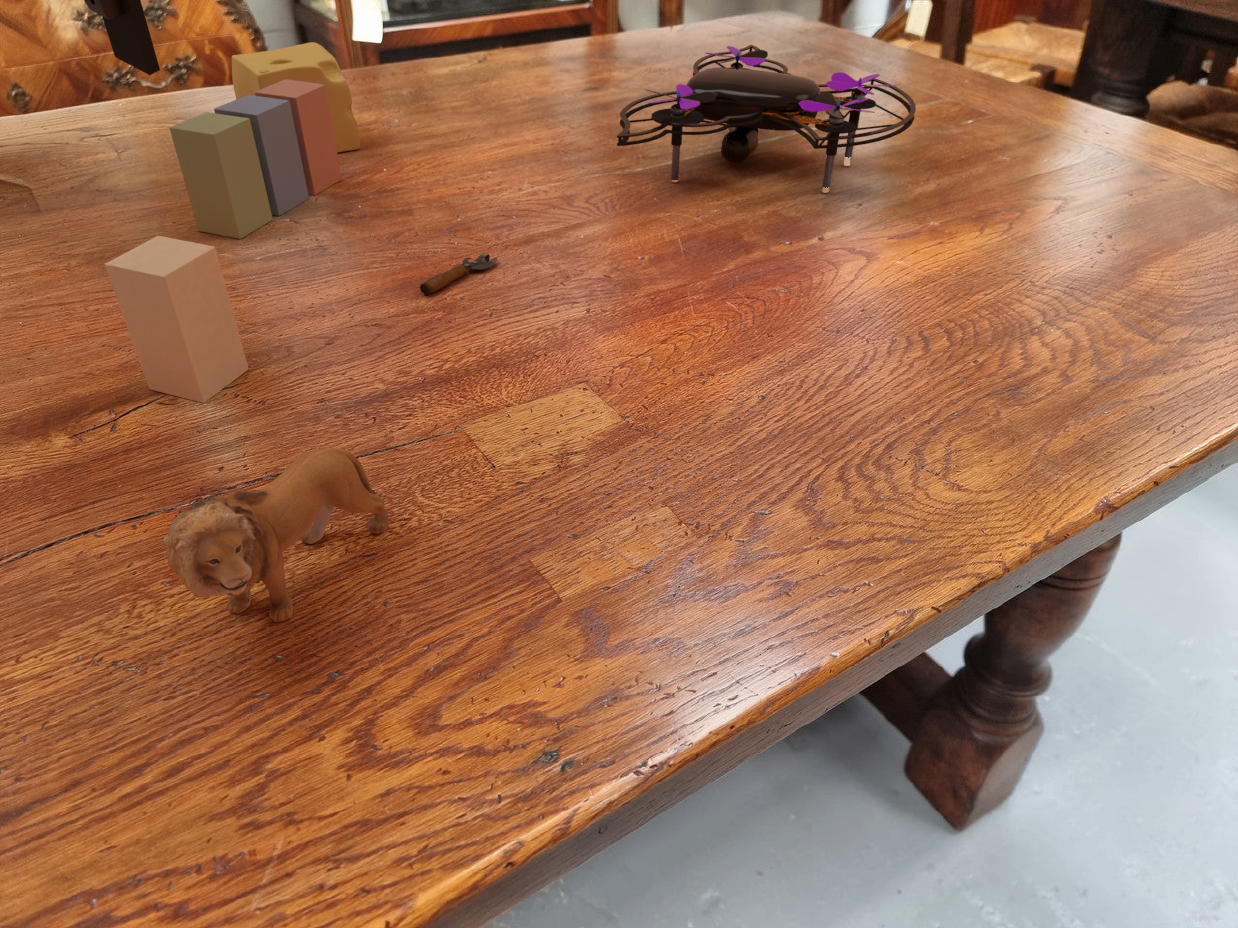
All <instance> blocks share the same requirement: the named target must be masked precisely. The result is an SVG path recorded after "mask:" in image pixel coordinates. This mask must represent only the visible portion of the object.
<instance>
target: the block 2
mask: <svg viewBox="0 0 1238 928" xmlns="http://www.w3.org/2000/svg"><path fill="white" fill-rule="evenodd" d="M104 267H105V271H106V272H107V276H108V278H109V282H110V285H111V287H112V289H113V292H114V296H115V298H116V301H117V303H118V307H119V310H120V312H121V315H122V317H123V320H124V323H125V325H126V328H127V331H128V335H129V337H130V340H131V343H132V345H133V348H134V351H135V354H136V357H137V359H138V362H139V366H140V367H141V370H142V373H143V376H144V379H145V382H146V385H147V387H148V389H149V390H150V391H154V392H159V393H162V394H166V395H170V396H174V397H178V398H182V399H186V400H190V401H194V402H198V403H201V404H205V403H206V402H208V401H209V400H210V399H212V398H213V397H214V396H215V395H217V394H218V393H219V392H220V391H222V390H223V389H225V388H226V387H227V386H229V385H230V384H231V383H233V382H235V380H236V379H238V378H240V377H241V376H242V375H243V374H244V373H246V372H247V371H249V364H248V361H247V357H246V355H245V351H244V346H243V343H242V340H241V336H240V332H239V328H238V324H237V322H236V317H235V313H234V310H233V306H232V303H231V300H230V295H229V293H228V292H229V291H228V289H227V284H226V282H225V277H224V274H223V270H222V266H221V263H220V259H219V256H218V251H217V249H216V246H213V245H209V244H203V243H198V242H193V241H188V240H182V239H178V238H172V237H167V236H162V235H156V236H155V237H153V238H151V239H149V240H147V241H145V242H143V243H141V244H139V245H138V246H136V247H134V248H132V249H130V250H128V251H126V252H124V253H122V254H121V255H119V256H117V257H115V258H113V259H111V260H109V261H107V262H105V263H104Z"/></svg>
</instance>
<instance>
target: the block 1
mask: <svg viewBox="0 0 1238 928" xmlns="http://www.w3.org/2000/svg"><path fill="white" fill-rule="evenodd" d="M169 131H170V134H171V139H172V142H173V146H174V149H175V153H176V156H177V160H178V163H179V167H180V170H181V174H182V179H183V182H184V184H185V188H186V191H187V195H188V199H189V202H190V206H191V209H192V213H193V216H194V219H195V223H196V227H197V230H198V232H202V233H207V234H211V235H216V236H223V237H228V238H233V239H237V240H241V239H243V238H244V237H246V236H248V235H250V234H252V233H253V232H255V231H257V230H258V229H260V228H262V227H263V226H266V225H267V224H268V223H271V222H272V221H273V220H274V219H273V215H272V214H271V209H270V205H269V201H268V196H267V192H266V188H265V183H264V179H263V175H262V170H261V166H260V161H259V157H258V153H257V148H256V144H255V140H254V135H253V131H252V127H251V122H250V119H249V118H244V117H237V116H230V115H223V114H216V113H215V112H208V111H206V112H202V113H201V114H198V115H196V116H194V117H192V118H189V119H187V120H184V121H181V122H179V123H176V124H175V125H172V126H170V127H169Z"/></svg>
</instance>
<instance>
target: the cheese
mask: <svg viewBox="0 0 1238 928" xmlns="http://www.w3.org/2000/svg"><path fill="white" fill-rule="evenodd" d="M338 63H339V62H338V61H337V59H336V58H335V57H334V55H333V54H332V53H330V52H329V51H328V50H327V49H325V47H324V46H322V45H321V44H319V43H317V42H313V41H312V42H306V43H301V44H296V45H292V46H288V47H283V48H282V47H281V48H277V49H271V50H270V49H269V50H265V51H258V52H257V51H256V52H248V53H241V54H240V53H239V54H233V55H232V56H231V78H232V86H233V92H234V95H235V100H236V99H239V98H241V97H244V96H246V95H253V96H255V92H256V91H258V90H261V89H263V88H266V87H268V86H270V85H273V84H275V83H278V82H280V81H282V80H285V79H287V80H294V81H302V82H310V83H317V84H325V85H326V91H327V97H328V102H329V108H330V114H331V119H332V125H333V131H334V136H335V142H336V148H337V153H343V152H350V151H351V152H352V151H355V150H360V147H361V132H360V128H359V124H358V121H357V119H356V118H355V116H354V112H353V109H352V104H353V98H352V93H351V89H350V86H349V83H348V82H347V79H346V78H345V76H343V74H342V70H341V68H340V66H339V64H338Z"/></svg>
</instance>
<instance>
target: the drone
mask: <svg viewBox="0 0 1238 928" xmlns="http://www.w3.org/2000/svg"><path fill="white" fill-rule="evenodd" d="M726 49H728V50H729V51H720V52H715V53H714V52H713V53H712V52H705V55H704V56H702V57H701V58H699V59H697V60H696V61H695V62H694V63H693V67H692V76H691V77H690V78H689V79H688V81H687V82H686V84H683V83H679V84H675V85H676V86H675V88H676V89H675V90H673V91H667V92H659V91H655V90H652V89H648V88H647V89H645V88H644V91H647V92H649V93H654V94H651V95H648V96H643V97H641V98H639V99H636V100H633V101H631V102H630V103H629V104H627V105H625V106H624V107H623V108H621V111H620V112H619V117H620V120H619V125H620V127H621V128H622V131H620V132H619V133H618V134H617V135H616V138H617V143H616V146H617V147H624V146H634V145H641V144H646V143H649V142H653V141H657V140H658V139H661V138H664V137H665V136H666V135H668V134H670V135H671V141H670V143H671V146H672V149H671V150H672V152H671V175H670V176H671V177H670V181H671V180H678V181H679V176H680V156H681V146H682V144H683V136H702V135H705V136H706V135H710V134H716V133H721V132H724V131H726V130H729V132H728V131H727V132H726V133H725V134H724V136H723V137H722V141H721V147H720V155H721V157H722V158H723V160H725V161H726V162H727V163H730V164H740V163H744V161H746V160H747V159H748V158H749V157H750V156H752V155H753V153H754V152H756V149H757V148H758V145H759V130H766V131H777V132H791V131H794V132H796V133H797V134H799V135H800V136H802V138H804V139H805V140H807V142H808V143H809V144H810V145H811V146H812V148H813V149H814V150H820V149H823V150H824V149H825V155H826V158H825V165H824V171H823V177H822V178H823V179H822V186H823V187H825V188H826V187H827V188H828V187H830V188H831V184H832V177H833V172H834V171H833V170H834V164H835V157H836V156H837V152H838V149H839V148H845V150H844V156H845V157H848V158H849V157H852V158H853V151H854V147H856V146H863V145H868V144H873V143H876V142H881V141H883V140H887V139H891V138H893V137H895V136H898V135H900V134H902V133H904V132H905V131H907V130H908V129H909V128H910V127H911V126H912V125H913V123H914V120H915V114H916V112H917V108H916V105H917V104H916V103H915V101H914V99H913V98H912V97H911V96H910V95H909V94H908V93H907V92H905V91H904V90H902V89H901V88H898V84H897V85H895V84H892V83H888V82H886V81H884V80H881V79H878V78H879V77H880V76H881V74H879V73H873V74H870V75H867V76H864V77H863V78H862V77H859V79H858V80H856V79H854V77H852V76H850V75H849V74H848V73H846V72H840V71H838V72H833V73H832V74H831V77H830V79H831V80H827V81H826V82H825V83H821V84H818V82H816V81H815V80H813V79H810V78H807V77H804V76H801V75H795V74H792V73H790V72H788V71H789V68H788V67H787V65H785V64H783V63H781V62H780V61H776V60H772V59H767V58H768V56H769V52H768V51H767V50H765V49H760V48H759V47H758V46H755V45H753V44H748V45H747V46H745V47H742V48H737V47H735V46H732V45H726ZM748 50H749V51H748ZM745 51H747V52H745ZM742 52H745V53H742ZM732 55H733V56H732ZM713 57H722V58H717V59H713V60H712V59H711V58H713ZM708 59H711V60H709V61H706V60H708ZM704 61H706V62H704ZM733 61H735V62H733ZM739 61H740V62H739ZM730 62H733V63H731V64H730V67H726V66H724V65H723V64H724V63H730ZM741 62H742V63H741ZM765 62H766V63H769V64H773V65H776V66H778V67H780V68H781V69H782V70H781V69H778V68H777V67H773V66H768V65H761V64H764V63H765ZM712 64H716V65H717V66H719V67H711V68H706V69H703V68H705V67H707V66H709V65H712ZM744 65H746V66H747V67H753V68H759V69H765V70H759V69H750V68H747V67H744ZM702 69H703V70H702ZM766 70H770V71H766ZM869 82H870V83H869ZM866 83H869V84H866ZM875 83H878V84H875ZM821 88H830V89H832V90H825V91H821ZM884 88H889V89H891V90H893V91H895V92H897V93H898V94H899V95H901V96H902V97H903V98H902V97H901V96H899V95H897V94H895V93H894V92H892V91H890V90H887V89H884ZM872 90H876V91H879V92H881V93H883V94H884V95H885V94H886V95H888V96H890V97H891V98H893V99H895V100H897V101H898V102H900V104H901V105H903V107H904V108H905V109H906V110H907V112H908V114H907V115H906V116H905V117H901V116H900V115H898V114H896V113H894V112H892V111H891V110H888V109H886V108H885V107H883V106H880V105H879V104H877V101H875V100H873V99H872V98H868V97H866V96H867V95H868V94H869V95H872V96H874V95H875V93H873V92H872ZM844 93H845V94H846V93H850V96H849V95H847V96H836V95H834V94H844ZM673 95H676V96H673ZM661 97H669V98H667V99H661V100H657V101H649V100H653V99H657V98H661ZM904 98H905V99H904ZM646 101H649V102H648V103H646V104H642V105H640V106H637V107H635V108H633V107H634V106H636V105H638V104H641V103H644V102H646ZM674 102H675V103H674ZM669 103H673V105H671V106H670V107H668V108H662V109H658V110H655V111H654V112H652V113H651V118H642V119H633V120H630V119H629V118H630V117H631V116H632V115H634V114H636V113H637V112H640V111H642V110H644V109H647V108H651V107H654V106H658V105H662V104H663V105H664V104H669ZM875 107H876V108H878V109H880V110H882V111H884V112H886V113H888V114H889V115H892V116H893V117H895V118H897V119H899V120H900V121H898V122H895V123H892V124H891V123H890V124H883V125H882V124H881V125H872V126H864V127H859V123H860V122H859V121H860V118H861V117H860V116H861V113H868V114H869V113H870V114H875V113H876V112H875V111H871V110H870V109H873V108H875ZM632 108H633V109H632ZM841 110H843V111H844V110H846V111H847V112H846V113H845V114H844V115H843V114H842V112H841ZM818 112H825V113H826V114H827V115H828V118H827V119H823V118H817V115H818ZM847 116H848V120H845V119H846V118H847ZM650 121H654V122H655V123H657V124H660V125H658V126H655V127H653V128H651V129H647V130H642V131H638V132H630V131H631V130H630V129H631V124H633V123H641V122H650ZM809 125H814V128H815V129H816V130H818V131H820V132H823V133H827V134H826V135H825V136H819V135H818V133H817V132H816V131H815V130H814V129H813V128H811V127H810V126H809ZM668 126H671V129H666V128H667V127H668ZM712 126H713V127H714V126H721V127H718V128H714V129H708V130H702V131H700V130H699V131H683V128H704V127H712ZM663 129H664V130H663ZM803 129H804V130H805V131H806V132H805V131H804V130H803ZM872 129H873V130H872ZM875 129H876V130H875ZM894 129H895V131H892V130H894ZM863 130H871V131H867V132H861V133H857V131H863ZM659 131H661V132H660V133H657V134H655V135H653V136H650V137H647V138H642V139H638V140H631V141H629V140H630V138H634V137H641V136H646V135H650V134H653V133H656V132H659ZM890 131H892V132H890ZM807 132H808V133H807ZM886 132H889V133H888V134H887V133H886ZM882 133H886V134H884V135H882V136H878V137H874V138H869V139H865V140H859V141H855V140H856V139H857V138H864V137H870V136H874V135H879V134H882ZM809 134H810V135H809ZM843 134H844V135H843ZM846 134H847V135H846ZM839 140H846V142H845V143H839ZM819 142H820V143H819ZM825 142H826V144H824V143H825ZM844 156H843V157H844ZM822 186H821V187H822Z"/></svg>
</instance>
